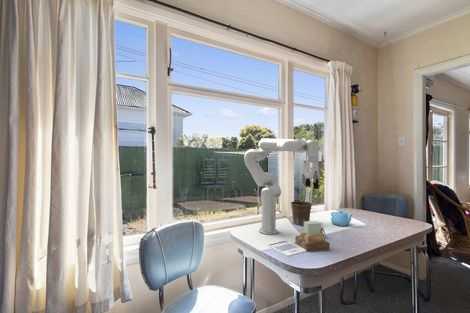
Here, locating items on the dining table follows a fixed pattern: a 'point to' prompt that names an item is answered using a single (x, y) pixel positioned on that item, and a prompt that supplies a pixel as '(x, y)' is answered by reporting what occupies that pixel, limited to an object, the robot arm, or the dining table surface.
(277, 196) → the robot arm
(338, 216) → the teapot
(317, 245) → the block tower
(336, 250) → the dining table surface
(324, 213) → the dining table surface
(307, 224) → the sage brick
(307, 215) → the plant pot
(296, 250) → the photo frame
